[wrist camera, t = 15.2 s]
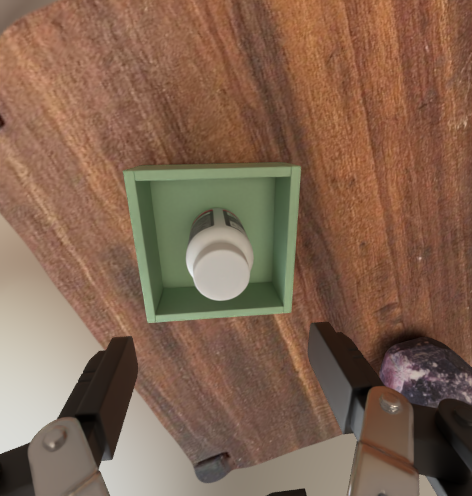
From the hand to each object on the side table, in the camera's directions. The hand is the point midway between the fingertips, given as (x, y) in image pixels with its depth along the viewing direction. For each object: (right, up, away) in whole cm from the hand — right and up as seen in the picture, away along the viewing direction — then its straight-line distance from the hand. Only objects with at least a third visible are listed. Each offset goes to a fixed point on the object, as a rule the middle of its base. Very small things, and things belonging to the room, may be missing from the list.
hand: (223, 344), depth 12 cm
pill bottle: (-1, +6, +16) cm, 17 cm away
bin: (-2, +6, +16) cm, 17 cm away
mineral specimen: (+23, -10, +25) cm, 36 cm away
